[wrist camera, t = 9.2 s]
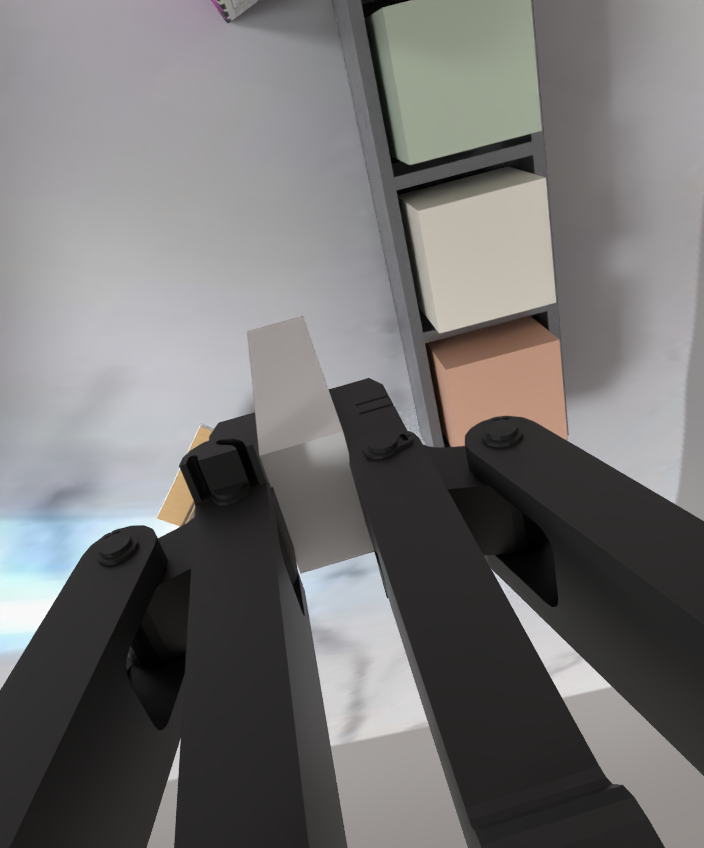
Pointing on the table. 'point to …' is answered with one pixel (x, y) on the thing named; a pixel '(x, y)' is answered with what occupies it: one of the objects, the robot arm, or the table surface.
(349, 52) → the grey compartment tray
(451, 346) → the terracotta key
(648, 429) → the table surface
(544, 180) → the ivory key
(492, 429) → the robot arm
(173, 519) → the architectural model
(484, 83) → the sage key
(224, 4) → the candy bar box
